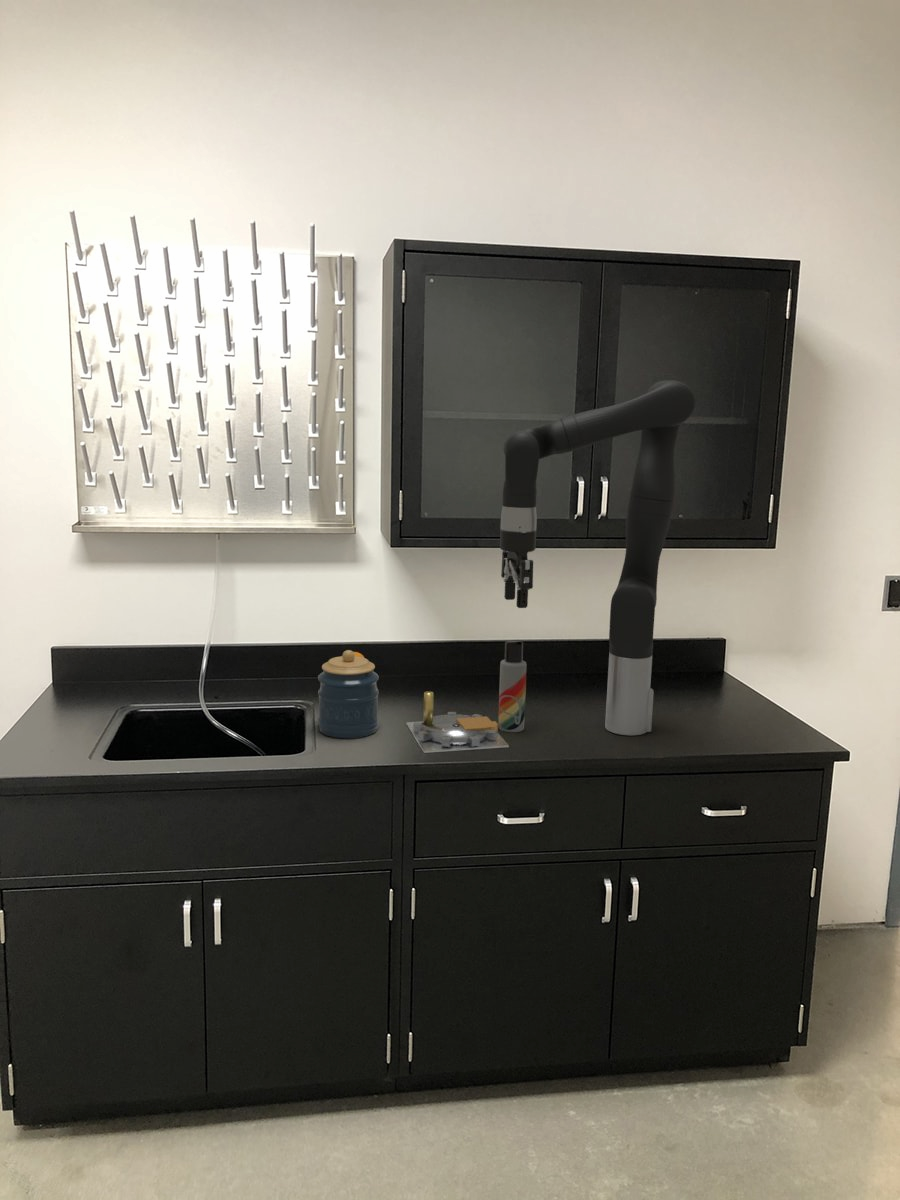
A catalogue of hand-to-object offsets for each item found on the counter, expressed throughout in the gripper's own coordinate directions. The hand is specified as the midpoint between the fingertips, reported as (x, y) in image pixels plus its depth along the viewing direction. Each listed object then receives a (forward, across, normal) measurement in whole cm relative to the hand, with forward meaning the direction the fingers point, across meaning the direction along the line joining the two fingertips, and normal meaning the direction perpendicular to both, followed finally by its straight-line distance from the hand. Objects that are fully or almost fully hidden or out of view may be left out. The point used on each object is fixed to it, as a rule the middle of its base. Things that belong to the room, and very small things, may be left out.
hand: (515, 603), depth 200 cm
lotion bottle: (+28, 0, 0) cm, 28 cm away
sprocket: (+28, +2, -13) cm, 31 cm away
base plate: (+28, +2, -13) cm, 31 cm away
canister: (+28, -6, -35) cm, 45 cm away
